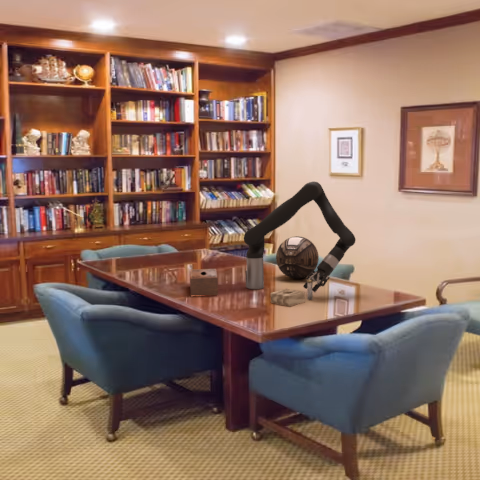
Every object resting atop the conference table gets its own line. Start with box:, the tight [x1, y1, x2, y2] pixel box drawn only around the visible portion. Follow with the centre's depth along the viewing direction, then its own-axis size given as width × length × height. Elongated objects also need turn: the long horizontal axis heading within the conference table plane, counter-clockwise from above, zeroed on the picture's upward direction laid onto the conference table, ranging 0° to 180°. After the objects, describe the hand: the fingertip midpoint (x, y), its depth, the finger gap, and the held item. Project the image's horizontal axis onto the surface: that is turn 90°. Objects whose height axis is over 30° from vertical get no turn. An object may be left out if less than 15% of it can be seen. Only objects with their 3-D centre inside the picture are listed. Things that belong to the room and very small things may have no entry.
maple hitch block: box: [270, 288, 306, 307], centre depth 301 cm, size 12×12×5 cm
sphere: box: [275, 235, 320, 280], centre depth 357 cm, size 25×25×25 cm
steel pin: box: [306, 279, 314, 301], centre depth 305 cm, size 3×3×10 cm
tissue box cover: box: [189, 268, 219, 296], centre depth 331 cm, size 26×14×10 cm, turn 4°
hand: (308, 289), depth 305 cm, fingers open, 8 cm apart
